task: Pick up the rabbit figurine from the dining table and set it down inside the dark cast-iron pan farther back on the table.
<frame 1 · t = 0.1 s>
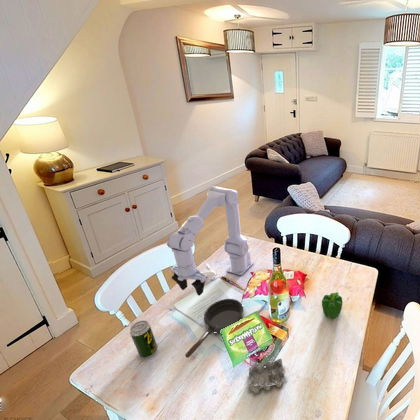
hand: (192, 291, 103), 10 cm above the table, tool pointing down, fingers open, 7 cm apart
pan handle: (199, 341, 92), point 2 cm above the table
pan: (225, 318, 104), on the table
rabbit figurine: (208, 276, 126), on the table
bell pepper: (331, 314, 108), on the table
egg carton: (266, 379, 84), on the table
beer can: (149, 351, 91), on the table
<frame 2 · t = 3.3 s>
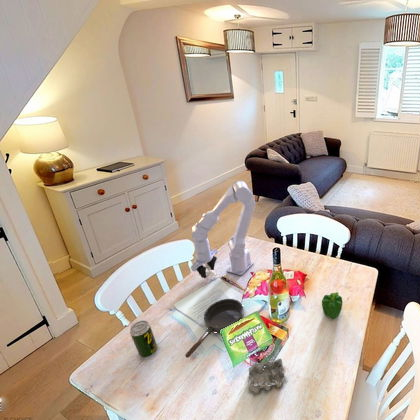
hand: (207, 274, 125), 1 cm above the table, tool pointing down, fingers closed on rabbit figurine, 4 cm apart
rabbit figurine: (208, 276, 126), on the table, touching gripper
everything else where it was.
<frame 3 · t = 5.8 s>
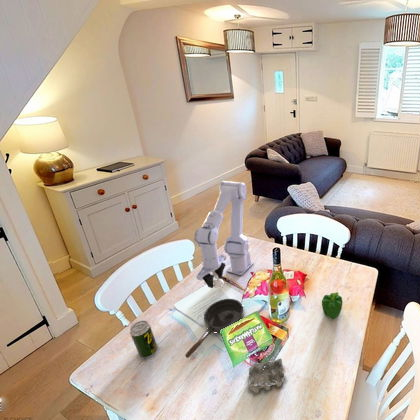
hand: (215, 282, 110), 8 cm above the table, tool pointing down, fingers closed on rabbit figurine, 4 cm apart
rabbit figurine: (215, 285, 111), point 7 cm above the table, touching gripper
everything else where it was.
when the fingers open (2 cm above the table, at t = 8.7 s): rabbit figurine stays where it is, resting on pan.
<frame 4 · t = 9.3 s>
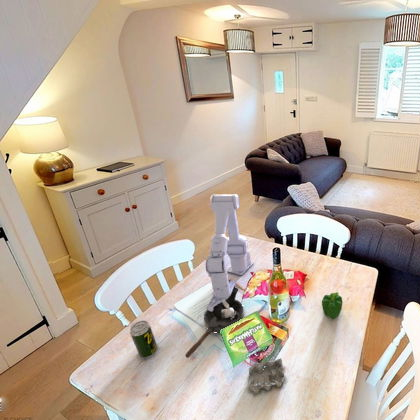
hand: (225, 310, 105), 3 cm above the table, tool pointing down, fingers open, 7 cm apart
rabbit figurine: (226, 315, 106), resting on pan
everything else where it was.
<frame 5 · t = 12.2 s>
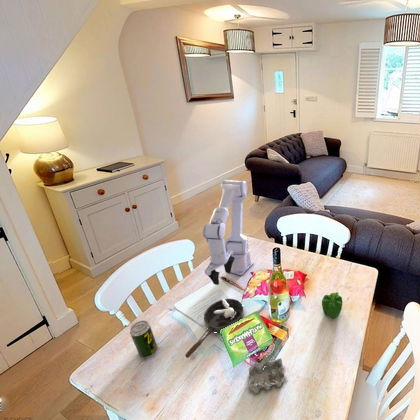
hand: (222, 278, 111), 9 cm above the table, tool pointing down, fingers open, 7 cm apart
nothing on the table moved.
at the end: rabbit figurine inside the target area in the pan (1.7 cm from its centre), point 0.3 cm above the pan's base; the gripper is holding nothing; rabbit figurine tilted 0° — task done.
